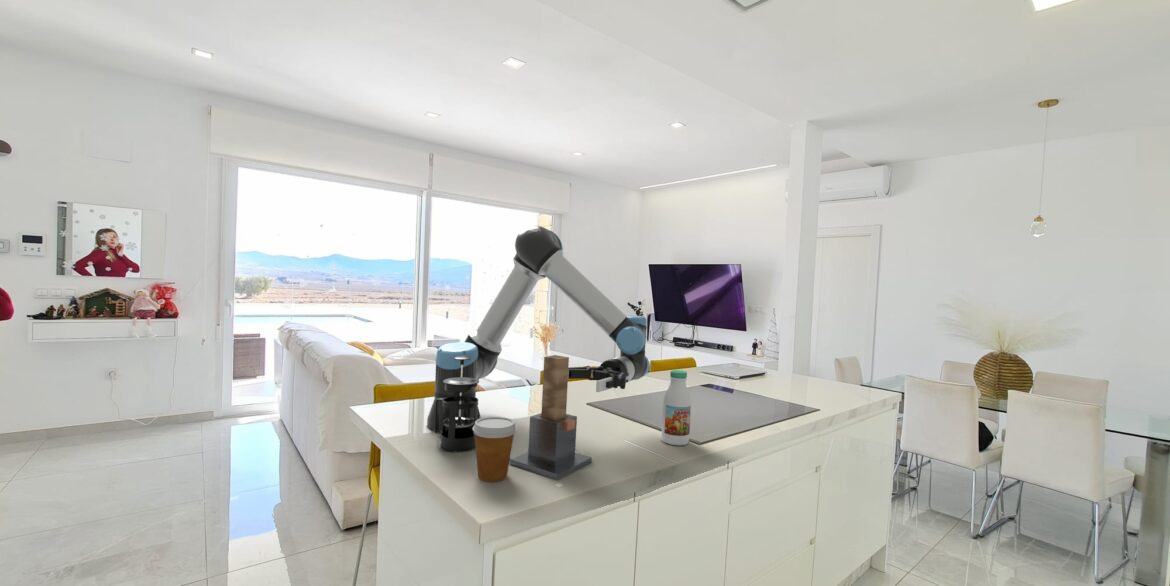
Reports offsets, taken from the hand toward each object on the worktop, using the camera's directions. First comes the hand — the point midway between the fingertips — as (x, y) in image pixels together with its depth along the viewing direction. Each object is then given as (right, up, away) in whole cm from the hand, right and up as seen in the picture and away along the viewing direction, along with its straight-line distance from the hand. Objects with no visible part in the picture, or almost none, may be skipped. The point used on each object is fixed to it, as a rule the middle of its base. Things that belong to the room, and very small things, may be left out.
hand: (574, 382), depth 122 cm
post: (-5, -17, -6) cm, 18 cm away
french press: (-30, -17, +3) cm, 35 cm away
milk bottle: (+28, -20, +15) cm, 37 cm away
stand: (-5, -18, -6) cm, 20 cm away
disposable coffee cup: (-18, -18, -15) cm, 29 cm away
